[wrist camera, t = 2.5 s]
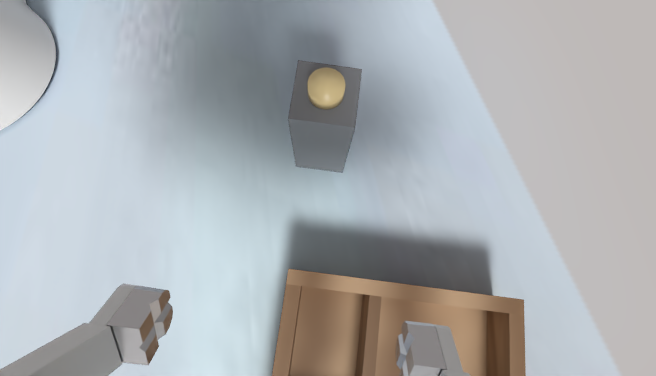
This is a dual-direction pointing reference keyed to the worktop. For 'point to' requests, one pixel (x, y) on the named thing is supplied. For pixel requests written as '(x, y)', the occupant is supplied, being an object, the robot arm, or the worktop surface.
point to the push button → (323, 114)
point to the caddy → (390, 326)
